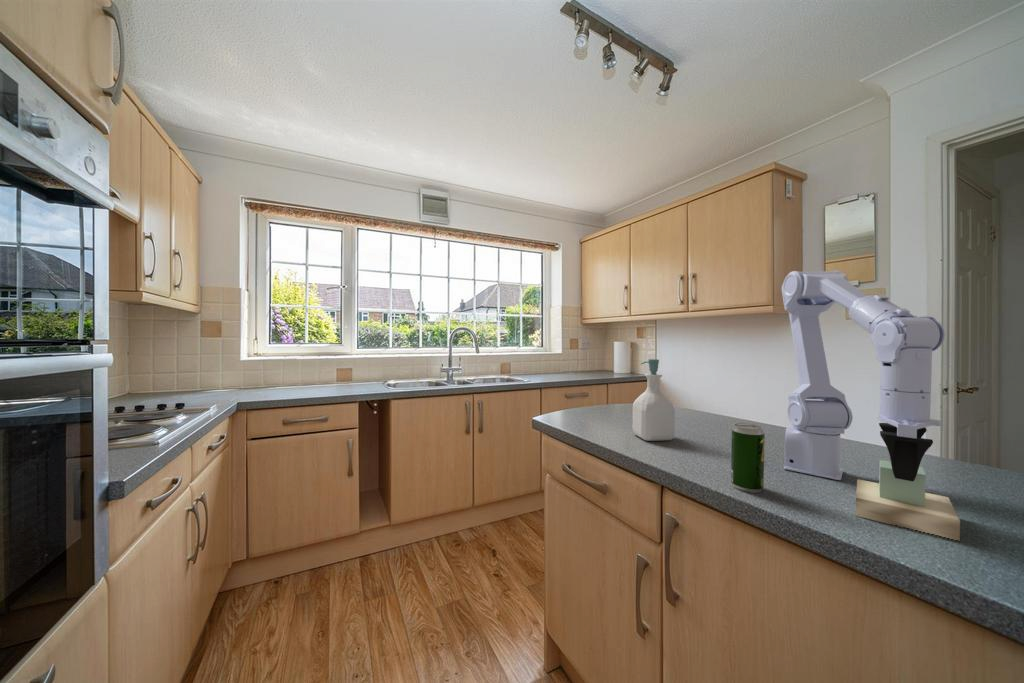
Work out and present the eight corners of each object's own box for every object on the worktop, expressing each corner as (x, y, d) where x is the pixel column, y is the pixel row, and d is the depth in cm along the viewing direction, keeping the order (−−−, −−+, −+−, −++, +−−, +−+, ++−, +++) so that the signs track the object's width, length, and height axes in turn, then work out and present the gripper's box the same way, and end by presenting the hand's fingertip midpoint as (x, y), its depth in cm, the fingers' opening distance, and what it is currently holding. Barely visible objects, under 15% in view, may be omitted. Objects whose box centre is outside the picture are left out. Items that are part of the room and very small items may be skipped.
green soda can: (734, 491, 70) (735, 428, 70) (727, 480, 76) (728, 422, 75) (767, 495, 69) (769, 430, 69) (758, 484, 74) (759, 424, 74)
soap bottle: (629, 433, 112) (630, 357, 111) (660, 433, 113) (661, 357, 112) (644, 442, 102) (645, 360, 102) (677, 442, 103) (678, 360, 103)
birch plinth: (855, 515, 61) (855, 497, 61) (857, 495, 69) (857, 479, 69) (959, 541, 53) (960, 520, 53) (947, 515, 61) (948, 497, 61)
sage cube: (879, 497, 61) (880, 466, 61) (879, 488, 65) (879, 459, 65) (924, 507, 58) (925, 475, 58) (921, 497, 61) (922, 466, 61)
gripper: (949, 398, 53) (946, 493, 53) (935, 388, 63) (933, 467, 64) (879, 393, 58) (877, 479, 58) (877, 384, 68) (875, 458, 69)
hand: (902, 472), depth 61 cm, fingers open, 7 cm apart
